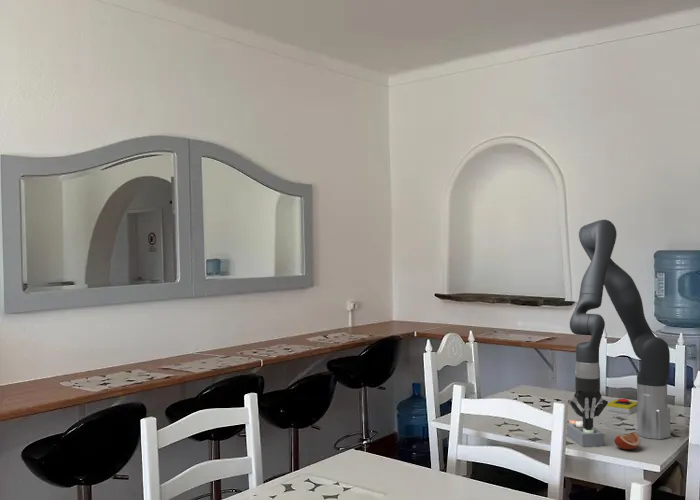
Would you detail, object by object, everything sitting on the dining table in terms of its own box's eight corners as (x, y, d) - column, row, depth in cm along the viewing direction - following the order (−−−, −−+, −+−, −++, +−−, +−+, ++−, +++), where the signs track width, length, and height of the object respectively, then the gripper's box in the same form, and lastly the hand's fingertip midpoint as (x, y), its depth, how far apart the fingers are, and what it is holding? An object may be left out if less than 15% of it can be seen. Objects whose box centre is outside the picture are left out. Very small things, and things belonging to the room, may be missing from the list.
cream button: (574, 427, 223) (574, 420, 223) (584, 426, 223) (583, 420, 223) (578, 430, 219) (578, 423, 219) (588, 429, 220) (588, 423, 220)
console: (560, 431, 230) (560, 420, 230) (580, 431, 230) (580, 419, 230) (582, 446, 212) (582, 434, 212) (603, 446, 213) (603, 433, 213)
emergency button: (641, 398, 262) (627, 405, 251) (641, 409, 262) (627, 417, 251) (617, 395, 268) (603, 401, 257) (617, 406, 268) (603, 413, 257)
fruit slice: (627, 444, 214) (627, 429, 214) (646, 450, 209) (645, 433, 209) (609, 448, 210) (609, 432, 210) (627, 454, 204) (627, 437, 204)
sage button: (581, 434, 217) (581, 428, 217) (591, 434, 218) (591, 427, 218) (585, 437, 214) (585, 430, 214) (596, 437, 214) (595, 430, 214)
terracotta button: (567, 425, 228) (567, 419, 228) (577, 425, 229) (577, 419, 229) (571, 428, 225) (571, 422, 225) (581, 428, 225) (581, 421, 225)
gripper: (572, 378, 212) (572, 433, 212) (612, 377, 213) (613, 431, 213) (563, 373, 219) (563, 427, 219) (602, 373, 220) (602, 425, 220)
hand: (588, 429), depth 216 cm, fingers closed
